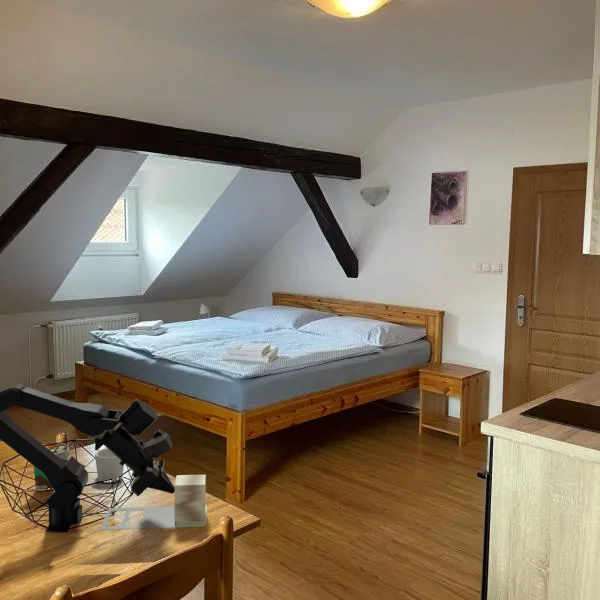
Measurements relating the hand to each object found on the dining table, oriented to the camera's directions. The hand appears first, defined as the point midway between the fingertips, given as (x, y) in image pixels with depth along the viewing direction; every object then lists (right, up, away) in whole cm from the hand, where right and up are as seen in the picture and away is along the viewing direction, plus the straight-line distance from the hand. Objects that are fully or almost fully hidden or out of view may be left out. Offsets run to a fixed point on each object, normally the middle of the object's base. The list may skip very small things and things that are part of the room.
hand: (174, 491), depth 146 cm
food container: (-36, -5, +20) cm, 42 cm away
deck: (-4, -7, 0) cm, 9 cm away
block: (+4, -6, +1) cm, 7 cm away
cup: (-24, -4, +25) cm, 35 cm away
